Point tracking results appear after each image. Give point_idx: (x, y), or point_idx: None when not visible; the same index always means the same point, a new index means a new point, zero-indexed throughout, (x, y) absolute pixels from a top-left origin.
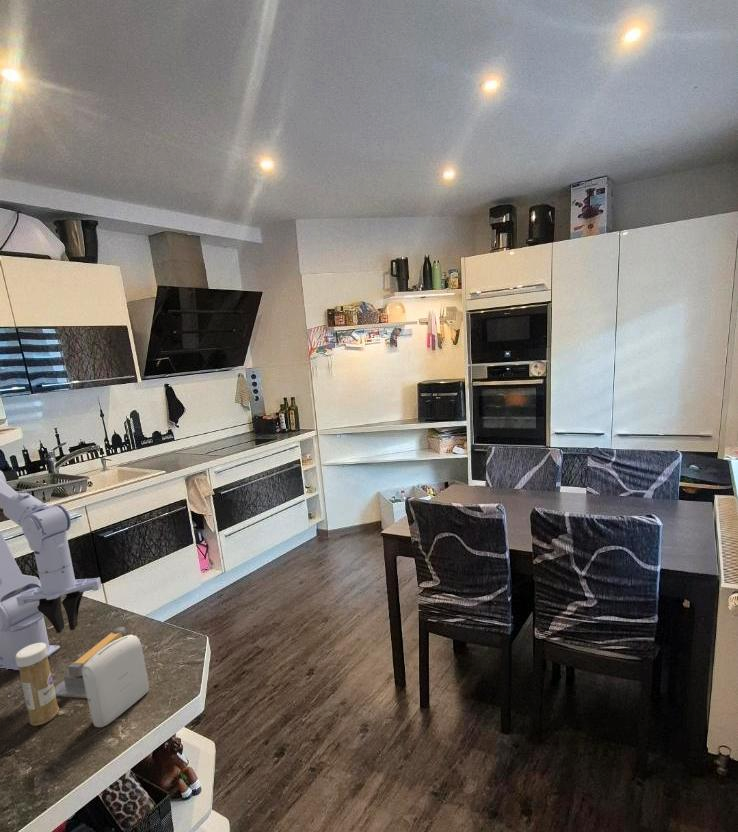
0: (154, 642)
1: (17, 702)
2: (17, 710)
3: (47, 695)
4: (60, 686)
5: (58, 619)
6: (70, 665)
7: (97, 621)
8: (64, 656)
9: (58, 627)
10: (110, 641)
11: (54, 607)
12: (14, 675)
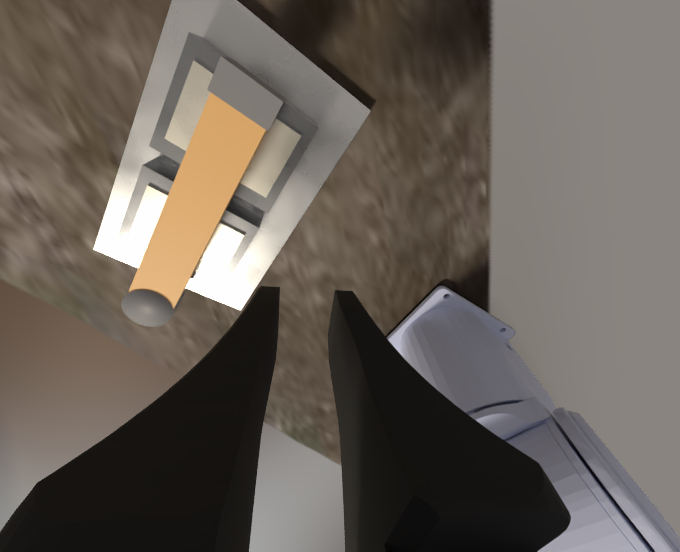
0: (71, 258)
1: (461, 130)
2: (459, 72)
3: None
4: (335, 132)
5: (345, 362)
6: (273, 108)
7: (309, 412)
8: None
9: (341, 306)
10: (149, 243)
11: (370, 468)
12: (472, 283)
